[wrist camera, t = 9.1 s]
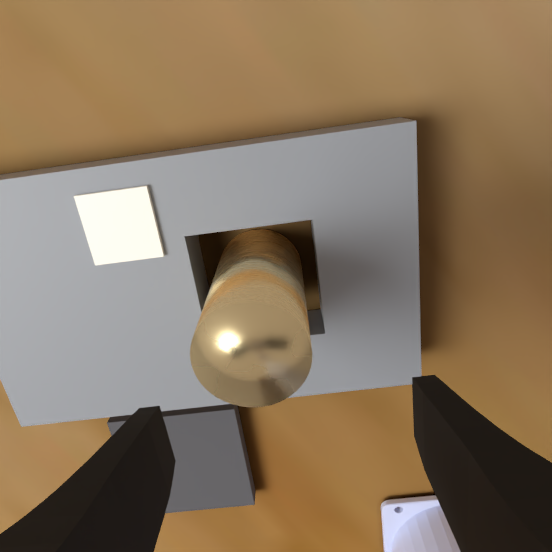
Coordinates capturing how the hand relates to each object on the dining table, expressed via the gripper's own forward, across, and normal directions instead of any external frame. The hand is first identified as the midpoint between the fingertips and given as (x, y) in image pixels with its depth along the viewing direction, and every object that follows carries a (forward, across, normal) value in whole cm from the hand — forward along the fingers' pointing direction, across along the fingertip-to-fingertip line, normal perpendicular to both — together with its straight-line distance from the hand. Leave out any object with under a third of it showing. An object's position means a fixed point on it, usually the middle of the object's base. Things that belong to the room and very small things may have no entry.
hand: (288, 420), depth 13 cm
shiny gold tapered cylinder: (+10, +1, -1) cm, 10 cm away
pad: (+10, +7, +10) cm, 16 cm away
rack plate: (+10, +4, -1) cm, 11 cm away
